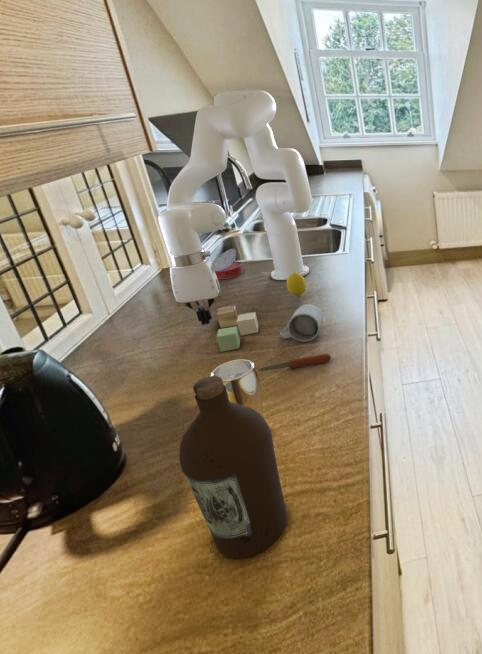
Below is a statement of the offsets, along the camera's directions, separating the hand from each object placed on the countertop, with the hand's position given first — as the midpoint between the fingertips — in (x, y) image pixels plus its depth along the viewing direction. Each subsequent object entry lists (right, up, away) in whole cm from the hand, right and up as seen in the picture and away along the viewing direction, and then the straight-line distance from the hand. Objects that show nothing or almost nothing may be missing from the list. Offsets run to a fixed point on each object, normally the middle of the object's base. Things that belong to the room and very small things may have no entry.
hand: (206, 322), depth 122 cm
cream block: (+13, -2, -2) cm, 13 cm away
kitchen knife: (+31, -9, -19) cm, 38 cm away
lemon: (+19, +6, +18) cm, 26 cm away
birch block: (+5, -1, +2) cm, 6 cm away
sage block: (+11, -5, -9) cm, 16 cm away
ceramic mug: (+28, -3, -5) cm, 29 cm away
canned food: (-14, +14, +38) cm, 43 cm away
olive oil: (+40, -25, -58) cm, 74 cm away
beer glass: (+32, -18, -41) cm, 55 cm away
